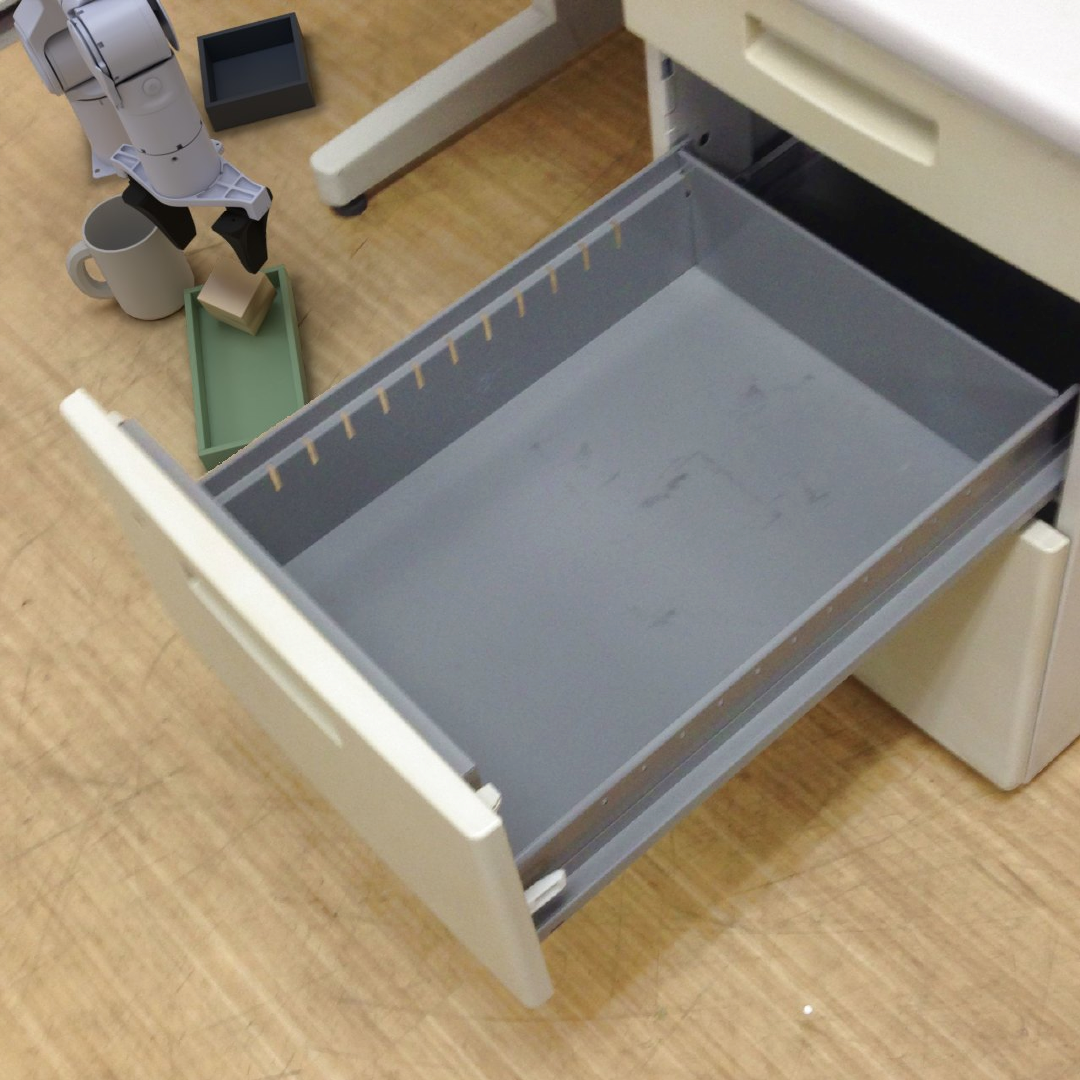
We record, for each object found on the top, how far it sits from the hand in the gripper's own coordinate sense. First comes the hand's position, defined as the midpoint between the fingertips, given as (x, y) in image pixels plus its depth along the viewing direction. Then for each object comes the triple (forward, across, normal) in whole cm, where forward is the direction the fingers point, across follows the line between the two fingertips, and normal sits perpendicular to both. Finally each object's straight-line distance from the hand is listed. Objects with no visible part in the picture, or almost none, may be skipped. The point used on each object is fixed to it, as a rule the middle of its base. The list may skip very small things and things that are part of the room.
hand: (222, 253), depth 128 cm
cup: (+8, +11, +2) cm, 14 cm away
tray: (+8, -4, +6) cm, 10 cm away
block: (+6, 0, 0) cm, 6 cm away
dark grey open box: (+8, +17, -26) cm, 32 cm away
